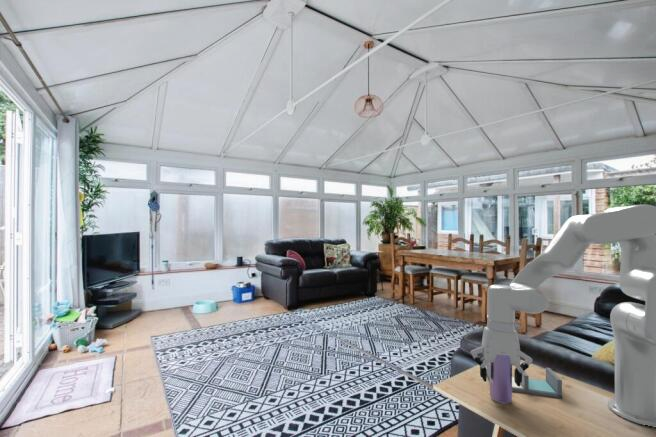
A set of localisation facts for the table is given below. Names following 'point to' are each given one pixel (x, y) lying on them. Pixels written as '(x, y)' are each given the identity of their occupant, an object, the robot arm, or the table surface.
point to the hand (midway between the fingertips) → (500, 381)
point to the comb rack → (537, 384)
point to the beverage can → (501, 379)
